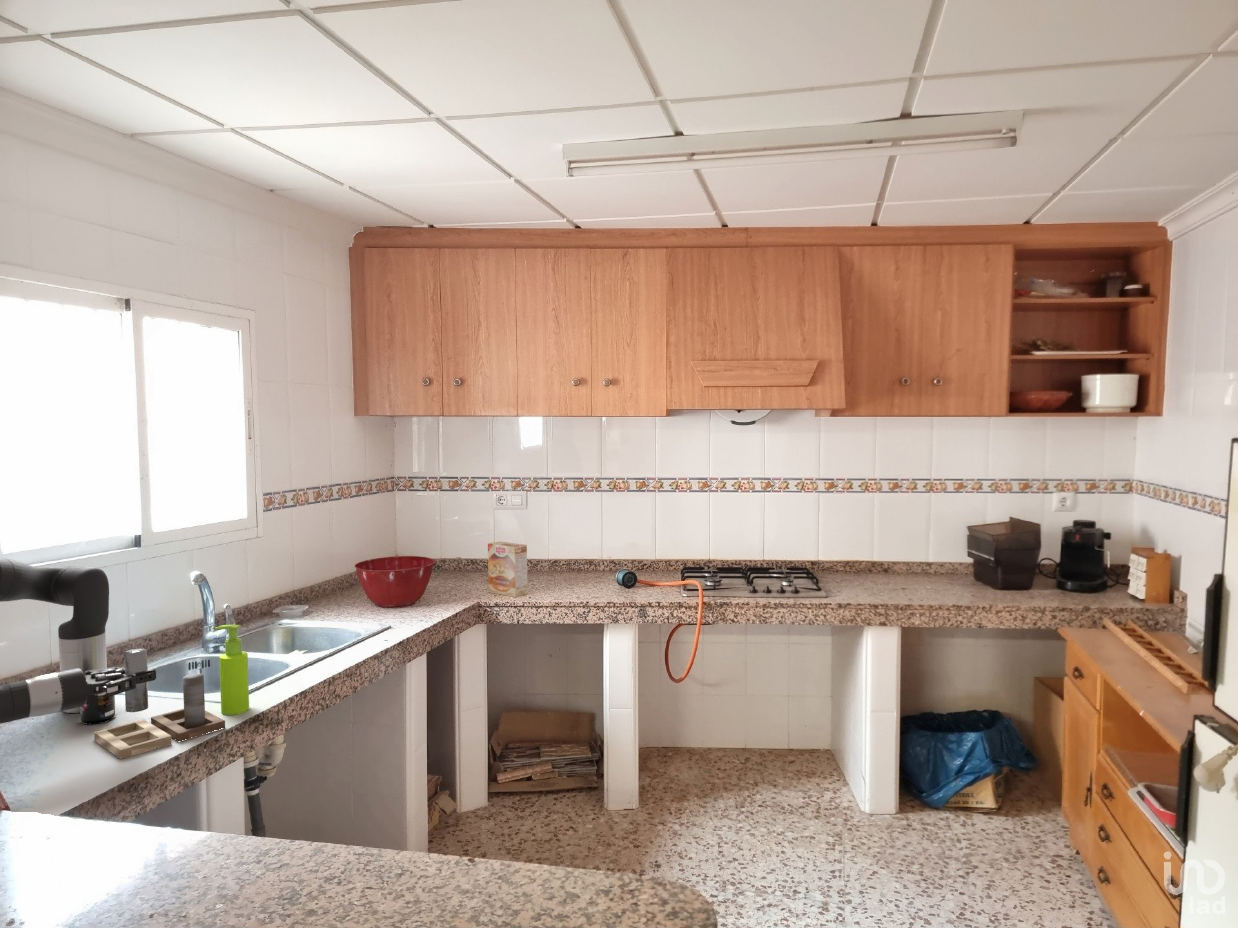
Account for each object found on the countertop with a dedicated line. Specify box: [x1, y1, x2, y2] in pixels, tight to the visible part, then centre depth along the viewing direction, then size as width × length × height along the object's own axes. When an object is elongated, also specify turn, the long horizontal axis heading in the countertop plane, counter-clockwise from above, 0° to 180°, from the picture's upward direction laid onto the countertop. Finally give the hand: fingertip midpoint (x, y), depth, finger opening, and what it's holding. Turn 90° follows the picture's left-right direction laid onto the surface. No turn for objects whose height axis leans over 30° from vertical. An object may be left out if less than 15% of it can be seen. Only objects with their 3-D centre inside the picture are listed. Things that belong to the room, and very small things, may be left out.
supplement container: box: [79, 673, 116, 725], centre depth 182 cm, size 7×7×10 cm
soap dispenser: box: [213, 624, 250, 716], centre depth 187 cm, size 6×7×20 cm
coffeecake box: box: [487, 541, 528, 598], centre depth 314 cm, size 15×7×20 cm, turn 53°
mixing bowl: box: [353, 555, 436, 609], centre depth 297 cm, size 28×28×16 cm
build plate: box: [93, 718, 172, 760], centre depth 169 cm, size 15×10×2 cm, turn 50°
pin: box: [123, 648, 149, 713], centre depth 166 cm, size 4×4×12 cm
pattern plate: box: [150, 673, 226, 742], centre depth 177 cm, size 15×10×12 cm, turn 50°
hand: (150, 672), depth 168 cm, fingers closed on pin, 4 cm apart
